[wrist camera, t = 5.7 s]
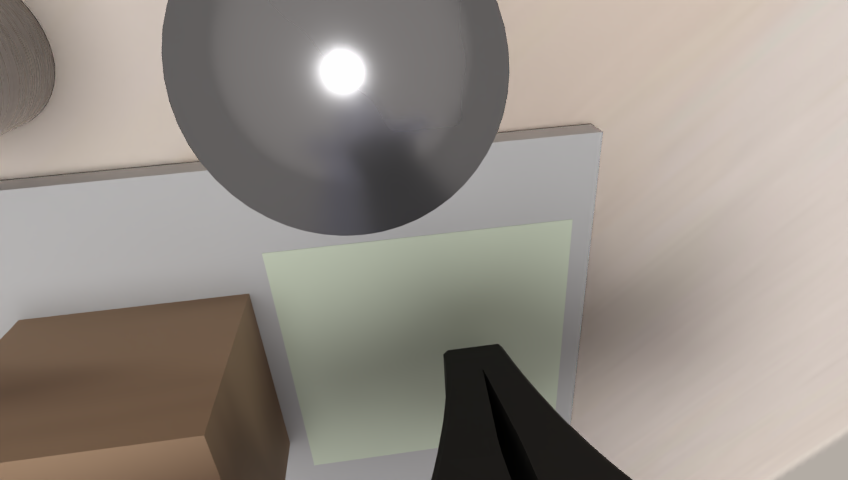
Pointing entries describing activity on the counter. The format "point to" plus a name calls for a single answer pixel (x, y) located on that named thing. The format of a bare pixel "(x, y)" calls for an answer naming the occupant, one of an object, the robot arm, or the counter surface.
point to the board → (333, 287)
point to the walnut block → (141, 395)
